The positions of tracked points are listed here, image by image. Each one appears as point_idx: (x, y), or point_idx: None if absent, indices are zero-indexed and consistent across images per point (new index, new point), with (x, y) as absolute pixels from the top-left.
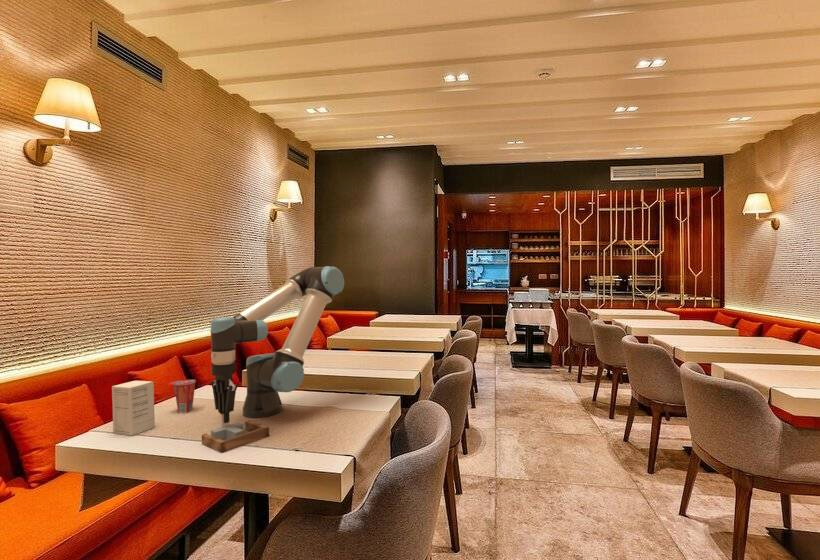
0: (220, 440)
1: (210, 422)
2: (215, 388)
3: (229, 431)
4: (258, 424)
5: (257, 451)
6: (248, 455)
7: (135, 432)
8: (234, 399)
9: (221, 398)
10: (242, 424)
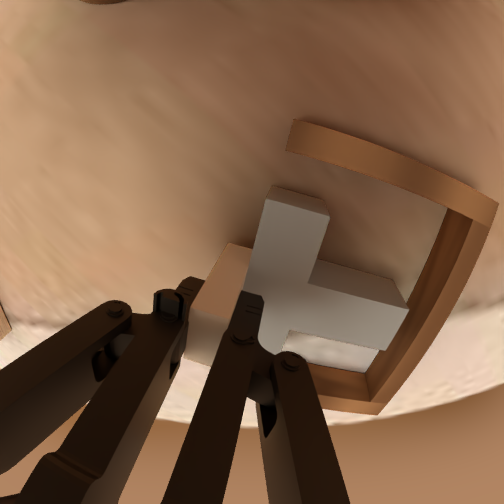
0: (359, 405)
1: (37, 149)
2: (6, 461)
3: (330, 336)
4: (424, 176)
5: (485, 337)
6: (467, 366)
7: (5, 325)
8: (337, 468)
9: (139, 445)
10: (327, 224)
